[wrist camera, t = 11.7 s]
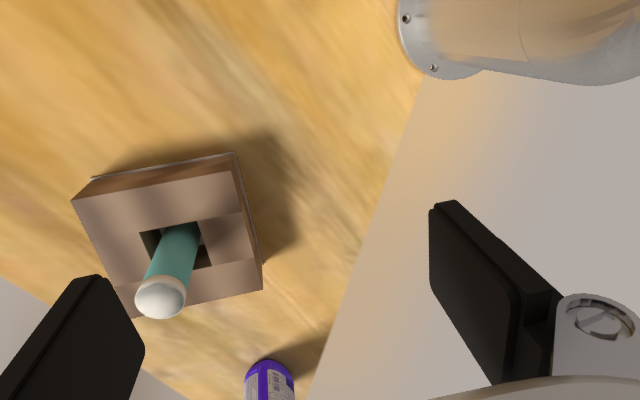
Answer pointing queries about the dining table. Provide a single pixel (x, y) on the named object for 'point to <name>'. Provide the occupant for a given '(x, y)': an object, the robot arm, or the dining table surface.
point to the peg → (169, 272)
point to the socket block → (172, 209)
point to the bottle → (268, 382)
